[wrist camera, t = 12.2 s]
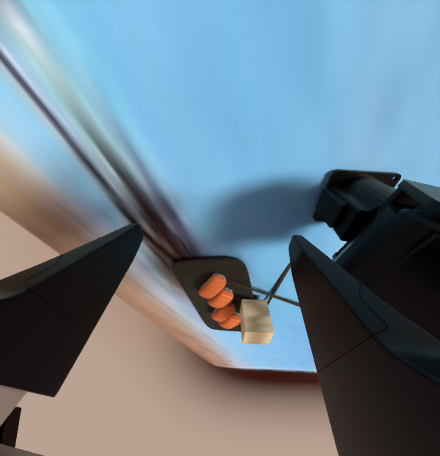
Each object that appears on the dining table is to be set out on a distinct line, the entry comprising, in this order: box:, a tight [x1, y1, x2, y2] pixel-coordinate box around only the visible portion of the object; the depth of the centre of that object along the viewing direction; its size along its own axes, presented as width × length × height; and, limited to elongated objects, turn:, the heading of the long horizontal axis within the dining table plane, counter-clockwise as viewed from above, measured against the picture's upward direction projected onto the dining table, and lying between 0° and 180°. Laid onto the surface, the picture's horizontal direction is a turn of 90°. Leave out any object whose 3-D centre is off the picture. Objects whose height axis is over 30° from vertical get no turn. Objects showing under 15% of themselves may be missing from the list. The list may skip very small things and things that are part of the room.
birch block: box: [240, 299, 274, 344], centre depth 31 cm, size 5×5×6 cm
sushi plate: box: [173, 258, 300, 332], centre depth 34 cm, size 29×30×4 cm
